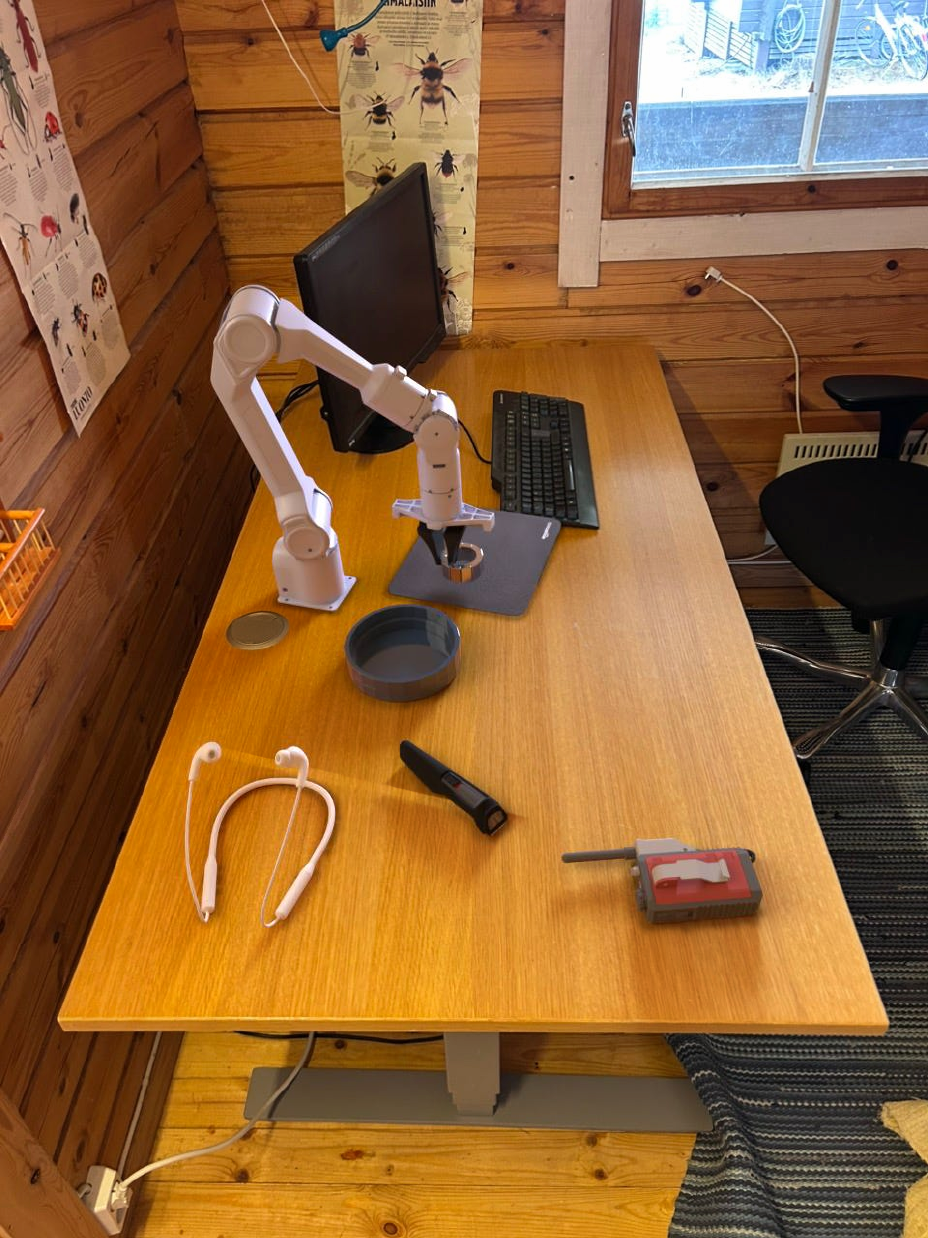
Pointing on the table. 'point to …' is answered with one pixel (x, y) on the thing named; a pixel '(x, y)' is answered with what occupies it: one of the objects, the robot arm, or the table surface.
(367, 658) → the bowl
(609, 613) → the table surface
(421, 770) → the electric trimmer
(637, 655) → the table surface
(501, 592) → the mouse pad
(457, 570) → the steel ring
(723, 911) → the walkie-talkie
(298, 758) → the earphone
